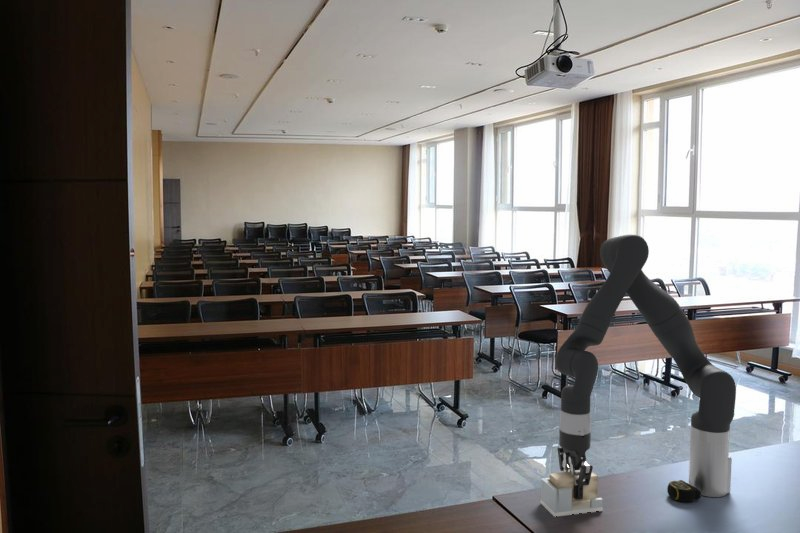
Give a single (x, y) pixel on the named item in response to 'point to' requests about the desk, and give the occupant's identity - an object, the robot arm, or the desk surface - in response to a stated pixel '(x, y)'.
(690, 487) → the tape measure
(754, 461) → the desk surface
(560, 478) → the beech rail
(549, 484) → the bracket board
